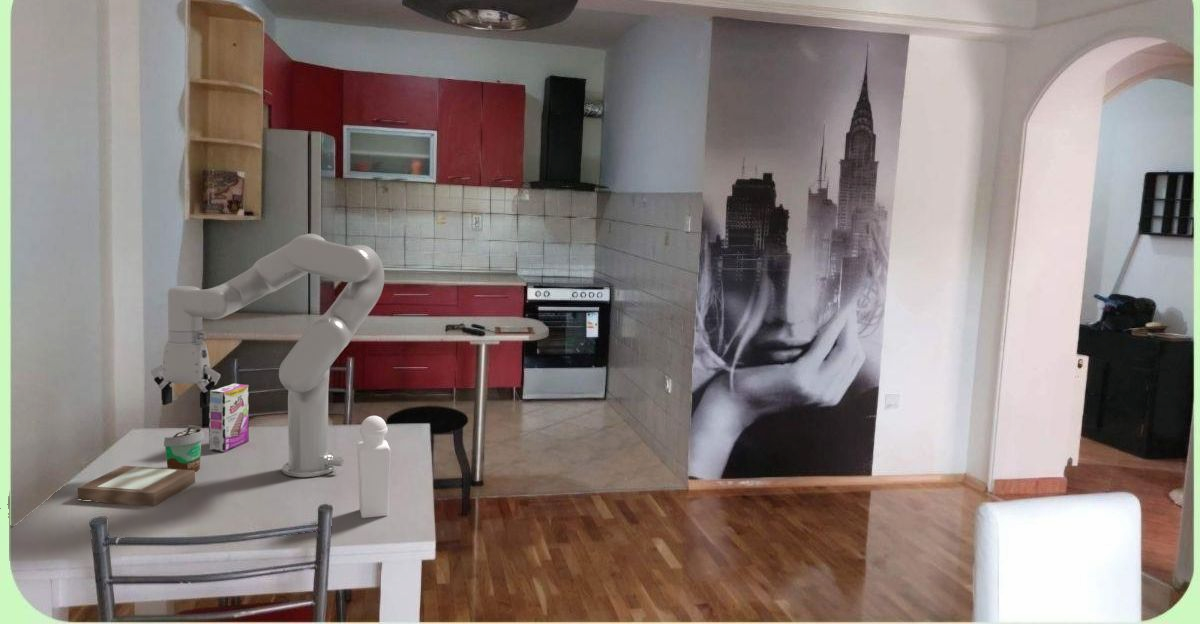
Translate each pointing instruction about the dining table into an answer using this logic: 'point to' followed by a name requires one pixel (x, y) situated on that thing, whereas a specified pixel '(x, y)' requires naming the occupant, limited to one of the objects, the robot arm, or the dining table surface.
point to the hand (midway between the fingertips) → (186, 405)
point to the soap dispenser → (373, 468)
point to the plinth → (137, 485)
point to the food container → (184, 449)
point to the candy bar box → (228, 417)
